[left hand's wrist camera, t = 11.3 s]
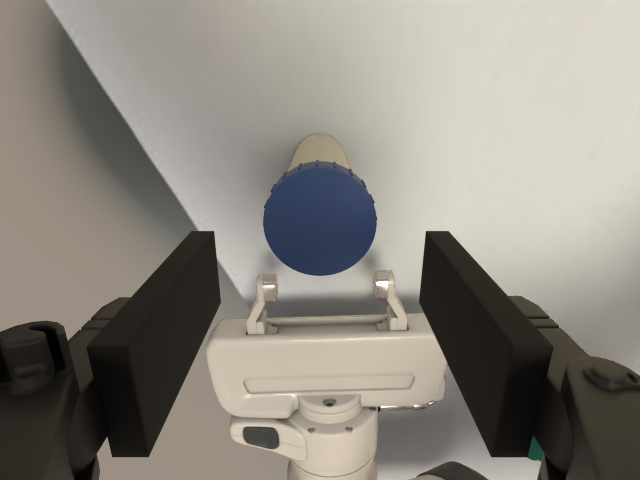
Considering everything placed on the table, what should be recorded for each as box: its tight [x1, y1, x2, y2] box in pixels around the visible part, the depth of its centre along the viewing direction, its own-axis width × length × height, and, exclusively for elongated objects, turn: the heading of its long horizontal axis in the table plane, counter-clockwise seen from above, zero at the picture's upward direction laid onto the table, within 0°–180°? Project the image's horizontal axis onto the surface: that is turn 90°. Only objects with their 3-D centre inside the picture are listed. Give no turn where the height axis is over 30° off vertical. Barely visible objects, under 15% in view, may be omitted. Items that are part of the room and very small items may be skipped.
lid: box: [263, 160, 377, 276], centre depth 19 cm, size 5×5×2 cm
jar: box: [288, 134, 352, 171], centre depth 27 cm, size 4×4×18 cm
